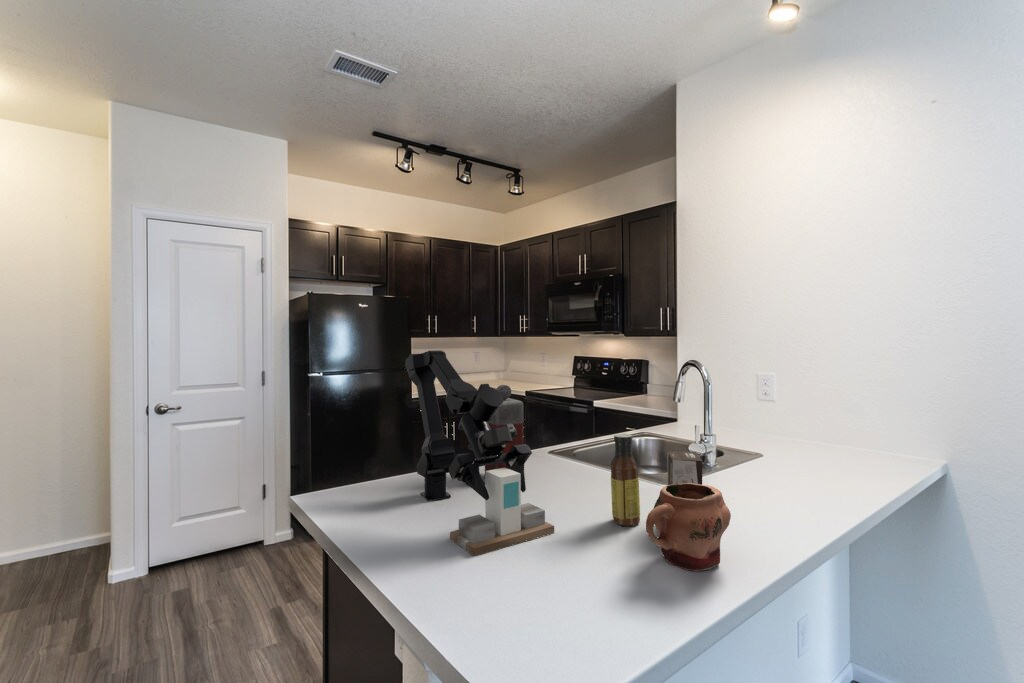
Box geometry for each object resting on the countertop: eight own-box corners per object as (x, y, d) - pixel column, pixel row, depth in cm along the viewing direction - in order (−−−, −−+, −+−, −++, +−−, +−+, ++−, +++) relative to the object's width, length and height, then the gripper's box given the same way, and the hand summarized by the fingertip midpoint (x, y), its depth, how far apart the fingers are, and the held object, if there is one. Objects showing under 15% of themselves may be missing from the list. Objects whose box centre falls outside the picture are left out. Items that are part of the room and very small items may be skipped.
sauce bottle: (641, 519, 115) (641, 433, 115) (638, 528, 109) (638, 438, 109) (612, 515, 117) (612, 431, 117) (608, 525, 111) (608, 436, 111)
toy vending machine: (507, 470, 157) (507, 382, 156) (523, 480, 147) (523, 385, 146) (481, 474, 153) (481, 383, 153) (496, 484, 143) (495, 386, 142)
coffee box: (703, 537, 105) (703, 460, 105) (671, 534, 106) (671, 459, 106) (696, 521, 114) (696, 451, 114) (666, 519, 115) (666, 449, 115)
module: (485, 526, 106) (485, 471, 106) (504, 521, 109) (504, 467, 109) (501, 536, 101) (501, 477, 101) (521, 530, 104) (521, 473, 104)
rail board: (449, 538, 104) (449, 517, 104) (526, 518, 115) (526, 499, 115) (474, 556, 96) (473, 533, 96) (554, 532, 107) (554, 512, 107)
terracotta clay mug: (681, 593, 82) (681, 509, 82) (624, 565, 92) (624, 490, 92) (746, 561, 93) (746, 487, 93) (690, 539, 103) (690, 473, 103)
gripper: (454, 416, 103) (482, 482, 94) (527, 408, 114) (558, 467, 105) (438, 447, 110) (462, 511, 101) (507, 437, 120) (535, 494, 111)
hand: (506, 495), depth 104 cm, fingers open, 9 cm apart
